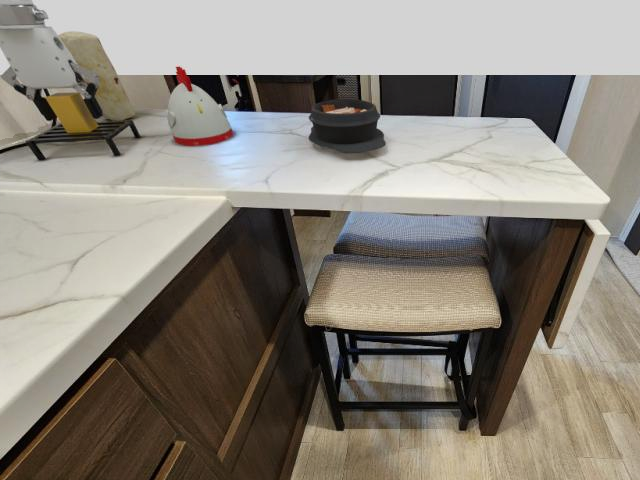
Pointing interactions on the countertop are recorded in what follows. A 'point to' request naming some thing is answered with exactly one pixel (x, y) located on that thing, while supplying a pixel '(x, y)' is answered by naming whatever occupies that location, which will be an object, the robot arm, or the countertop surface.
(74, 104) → the block
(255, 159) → the countertop surface
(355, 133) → the casserole
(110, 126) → the rack
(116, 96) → the food model
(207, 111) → the kitchen timer
